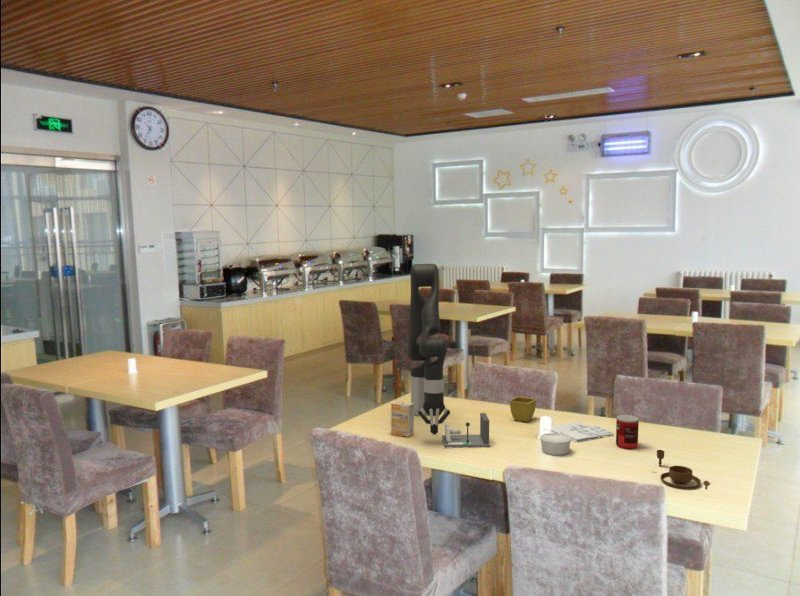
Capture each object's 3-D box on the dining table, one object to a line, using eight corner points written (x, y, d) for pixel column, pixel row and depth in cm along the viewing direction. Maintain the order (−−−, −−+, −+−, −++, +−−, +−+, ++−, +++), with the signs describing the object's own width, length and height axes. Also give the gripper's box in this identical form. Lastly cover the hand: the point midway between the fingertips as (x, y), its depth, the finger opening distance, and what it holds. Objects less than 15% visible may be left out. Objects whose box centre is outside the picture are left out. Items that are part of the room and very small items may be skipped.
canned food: (621, 441, 249) (622, 413, 248) (641, 446, 243) (642, 417, 242) (611, 446, 243) (612, 417, 242) (632, 451, 238) (633, 422, 237)
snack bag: (575, 444, 248) (576, 438, 248) (543, 429, 266) (543, 424, 266) (614, 437, 256) (614, 431, 255) (580, 423, 274) (580, 418, 274)
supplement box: (390, 435, 260) (390, 403, 258) (396, 431, 264) (395, 400, 262) (408, 437, 256) (408, 405, 254) (414, 434, 260) (414, 402, 259)
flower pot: (518, 416, 284) (518, 396, 283) (536, 419, 278) (536, 398, 278) (508, 421, 276) (509, 400, 276) (527, 424, 271) (528, 403, 270)
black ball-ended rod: (465, 441, 246) (465, 421, 245) (469, 441, 246) (469, 421, 245) (465, 442, 244) (465, 422, 243) (470, 442, 244) (470, 422, 243)
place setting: (648, 485, 207) (649, 468, 207) (654, 465, 225) (654, 448, 224) (709, 495, 199) (710, 476, 199) (710, 473, 217) (710, 456, 217)
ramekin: (563, 445, 245) (563, 431, 245) (576, 455, 234) (576, 441, 234) (535, 447, 243) (535, 433, 243) (547, 457, 232) (547, 443, 232)
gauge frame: (442, 437, 256) (441, 412, 254) (484, 436, 256) (484, 412, 255) (444, 447, 244) (444, 422, 243) (489, 447, 244) (489, 421, 243)
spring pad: (444, 434, 254) (444, 422, 253) (459, 434, 254) (459, 422, 253) (447, 443, 244) (447, 430, 244) (461, 442, 244) (461, 429, 244)
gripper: (450, 387, 251) (450, 430, 253) (416, 387, 251) (416, 431, 253) (452, 392, 244) (452, 436, 246) (417, 392, 243) (417, 437, 245)
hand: (434, 433), depth 249 cm, fingers closed
